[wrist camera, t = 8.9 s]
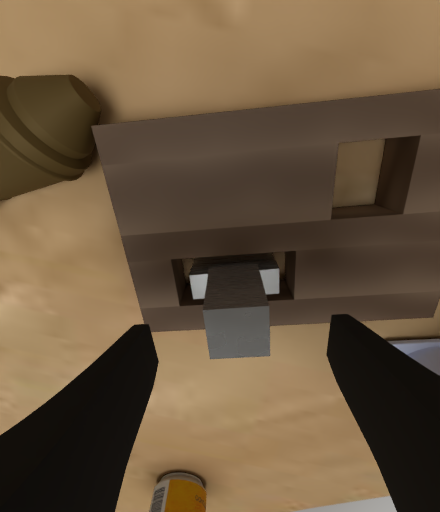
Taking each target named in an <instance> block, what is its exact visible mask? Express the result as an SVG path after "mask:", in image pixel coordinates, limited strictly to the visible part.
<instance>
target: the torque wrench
mask: <svg viewBox="0 0 440 512" xmlns="http://www.w3.org/2000/svg"><path fill="white" fill-rule="evenodd" d="M100 113H101V107H100V104H99V102H98V100H97V99H96V97H95V96H94V94H93V93H92V92H91V91H90V89H89V88H88V87H87V86H86V85H85V84H84V83H83V82H82V81H81V80H79V79H78V78H77V77H75V76H73V75H45V76H19V77H16V78H11V77H8V76H0V201H1V200H8V199H10V198H12V197H15V196H18V195H21V194H24V193H27V192H30V191H33V190H37V189H40V188H43V187H46V186H49V185H52V184H55V183H59V182H62V181H72V180H77V179H78V178H80V177H81V176H82V175H83V173H84V170H85V169H87V168H88V167H89V166H90V164H91V160H92V157H91V152H92V151H93V148H94V143H95V138H94V135H93V131H92V127H91V126H95V125H98V123H99V118H100Z"/></svg>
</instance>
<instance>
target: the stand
mask: <svg viewBox="0 0 440 512" xmlns="http://www.w3.org/2000/svg"><path fill="white" fill-rule="evenodd" d="M91 127H92V131H93V135H94V138H95V142H96V146H97V149H98V153H99V157H100V161H101V164H102V168H103V172H104V175H105V179H106V183H107V187H108V190H109V194H110V198H111V201H112V205H113V209H114V213H115V216H116V220H117V224H118V227H119V231H120V235H121V238H122V242H123V246H124V250H125V253H126V257H127V261H128V264H129V268H130V272H131V276H132V279H133V283H134V287H135V290H136V294H137V298H138V302H139V305H140V309H141V313H142V316H143V320H144V324H149V326H150V330H151V332H162V331H181V330H200V329H205V323H204V316H203V304H204V299H193V295H192V289H191V285H186V282H185V276H184V270H183V264H182V259H184V258H199V257H213V256H227V255H242V254H256V253H270V252H284V251H285V279H280V280H279V294H266V296H267V300H268V304H269V324H270V326H277V325H297V324H316V323H331V315H334V314H349V315H350V316H352V317H353V318H355V319H356V320H358V321H374V320H393V319H412V318H431V317H433V316H434V313H435V310H436V307H437V305H438V302H439V299H440V89H435V90H425V91H416V92H407V93H397V94H388V95H378V96H369V97H359V98H350V99H341V100H331V101H322V102H312V103H303V104H293V105H284V106H275V107H265V108H256V109H246V110H237V111H227V112H218V113H209V114H199V115H190V116H180V117H171V118H161V119H152V120H143V121H133V122H124V123H114V124H105V125H95V126H91ZM376 139H386V143H385V149H384V155H383V160H382V166H381V172H380V177H379V183H378V189H377V195H376V200H375V204H374V205H362V206H349V207H337V208H332V203H333V194H334V184H335V174H336V164H337V155H338V145H339V143H345V142H355V141H366V140H376Z"/></svg>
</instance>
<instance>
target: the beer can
mask: <svg viewBox="0 0 440 512" xmlns="http://www.w3.org/2000/svg"><path fill="white" fill-rule="evenodd" d="M205 511H206V491H205V489H204V487H203V484H202V482H201V480H200V479H199V478H197V477H196V476H194V475H191V474H188V473H182V472H176V473H170V474H167V475H165V476H163V477H162V478H161V480H160V482H159V483H158V484H157V485H156V486H155V488H154V491H153V496H152V501H151V505H150V510H149V512H205Z"/></svg>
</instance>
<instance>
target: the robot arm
mask: <svg viewBox="0 0 440 512" xmlns="http://www.w3.org/2000/svg"><path fill="white" fill-rule="evenodd" d="M327 357H328V360H329V363H330V366H331V369H332V371H333V374H334V376H335V379H336V382H337V384H338V386H339V388H340V390H341V392H342V394H343V396H344V398H345V400H346V402H347V404H348V406H349V408H350V410H351V412H352V414H353V416H354V418H355V420H356V422H357V423H358V425H359V427H360V429H361V431H362V433H363V435H364V437H365V439H366V441H367V443H368V445H369V447H370V449H371V451H372V454H373V456H374V458H375V460H376V462H377V464H378V466H379V469H380V471H381V474H382V476H383V479H384V481H385V483H386V486H387V488H388V491H389V493H390V496H391V498H392V500H393V503H394V505H395V508H396V510H397V512H440V339H422V340H401V341H386V340H385V339H383V338H382V337H380V336H379V335H378V334H376V333H375V332H373V331H372V330H371V329H369V328H368V327H366V326H365V325H363V324H362V323H361V322H359V321H358V320H356V319H355V318H353V317H352V316H350V315H349V314H334V315H331V323H330V331H329V339H328V347H327ZM158 362H159V361H158V357H157V353H156V350H155V346H154V342H153V338H152V334H151V330H150V326H149V324H139V325H133V326H132V327H131V328H130V329H129V330H128V331H127V332H126V333H125V334H123V335H122V336H121V337H120V338H119V339H118V340H117V341H116V342H115V343H114V344H113V345H112V346H111V347H110V348H109V349H107V350H106V351H105V352H104V353H103V354H102V355H101V356H100V357H99V358H98V359H97V360H96V361H94V362H93V363H92V364H91V365H90V366H89V367H88V368H87V369H85V370H84V371H83V372H82V373H81V374H80V375H78V376H77V377H76V378H75V379H74V380H73V381H71V382H70V383H69V384H68V385H67V386H66V387H64V388H63V389H62V390H61V391H60V392H58V393H57V394H56V395H55V396H53V397H52V398H51V399H50V400H48V401H47V402H46V403H45V404H43V405H42V406H41V407H39V408H38V409H37V410H35V411H34V412H33V413H31V414H30V415H29V416H27V417H26V418H25V419H23V420H22V421H20V422H19V423H18V424H16V425H15V426H13V427H12V428H10V429H9V430H8V431H6V432H5V433H3V434H2V435H0V512H115V509H116V505H117V501H118V497H119V493H120V489H121V485H122V481H123V478H124V474H125V470H126V466H127V463H128V460H129V457H130V453H131V450H132V448H133V445H134V442H135V439H136V436H137V433H138V430H139V427H140V424H141V421H142V419H143V416H144V413H145V410H146V407H147V404H148V401H149V398H150V395H151V392H152V389H153V385H154V381H155V376H156V372H157V367H158Z"/></svg>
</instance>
